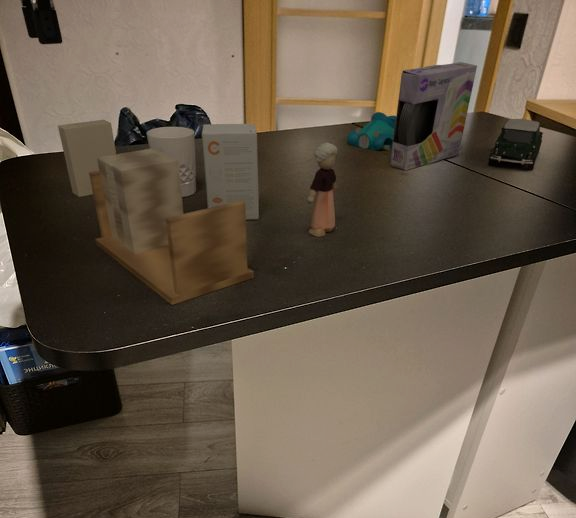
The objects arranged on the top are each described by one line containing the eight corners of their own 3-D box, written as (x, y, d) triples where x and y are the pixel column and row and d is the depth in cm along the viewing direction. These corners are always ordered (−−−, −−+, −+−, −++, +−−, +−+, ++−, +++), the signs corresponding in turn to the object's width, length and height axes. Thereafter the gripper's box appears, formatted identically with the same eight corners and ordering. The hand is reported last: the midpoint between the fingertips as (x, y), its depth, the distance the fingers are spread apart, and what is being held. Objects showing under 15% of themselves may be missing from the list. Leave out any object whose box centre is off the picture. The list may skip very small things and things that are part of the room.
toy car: (343, 144, 126) (345, 112, 122) (387, 131, 137) (390, 102, 132) (381, 152, 120) (385, 120, 116) (424, 139, 131) (429, 108, 127)
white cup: (174, 182, 101) (168, 124, 95) (208, 190, 98) (203, 130, 92) (145, 194, 96) (136, 133, 89) (179, 202, 92) (173, 139, 86)
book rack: (171, 305, 64) (158, 204, 57) (96, 245, 77) (77, 157, 70) (254, 278, 70) (251, 183, 63) (170, 227, 83) (160, 144, 76)
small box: (257, 206, 91) (255, 122, 83) (259, 220, 86) (257, 132, 78) (208, 207, 91) (202, 123, 83) (208, 221, 86) (201, 132, 78)
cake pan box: (402, 172, 108) (417, 71, 98) (384, 166, 111) (396, 68, 101) (460, 157, 118) (479, 64, 108) (442, 152, 121) (458, 61, 111)
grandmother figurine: (326, 241, 80) (332, 150, 72) (302, 237, 81) (305, 147, 73) (341, 223, 86) (348, 138, 78) (318, 220, 87) (323, 135, 79)
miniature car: (538, 152, 122) (549, 113, 117) (531, 173, 109) (543, 130, 104) (497, 148, 125) (506, 109, 120) (485, 167, 112) (495, 125, 107)
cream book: (79, 197, 94) (64, 128, 87) (72, 192, 96) (57, 125, 89) (122, 188, 98) (111, 122, 91) (115, 184, 100) (103, 119, 93)
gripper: (-27, -108, 76) (11, 36, 86) (-15, -122, 64) (28, 48, 75) (29, -105, 79) (60, 34, 89) (51, -118, 67) (83, 45, 77)
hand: (45, 40), depth 82 cm, fingers open, 9 cm apart
